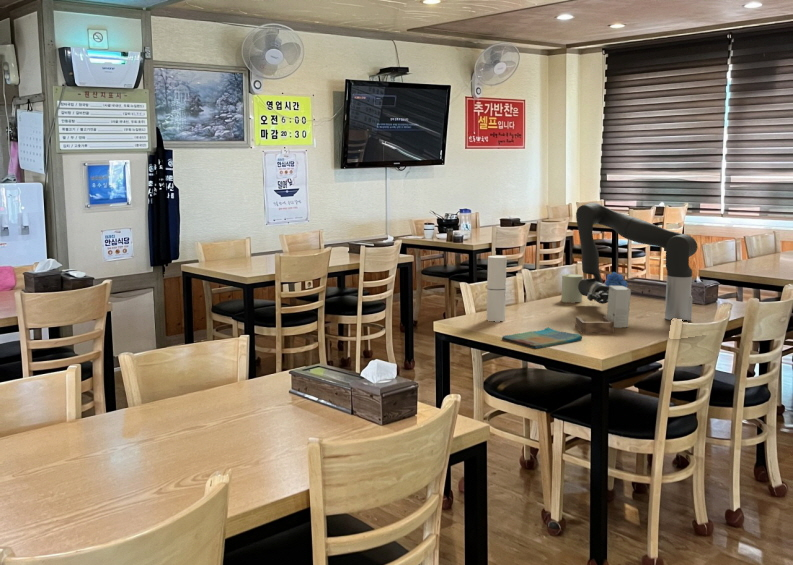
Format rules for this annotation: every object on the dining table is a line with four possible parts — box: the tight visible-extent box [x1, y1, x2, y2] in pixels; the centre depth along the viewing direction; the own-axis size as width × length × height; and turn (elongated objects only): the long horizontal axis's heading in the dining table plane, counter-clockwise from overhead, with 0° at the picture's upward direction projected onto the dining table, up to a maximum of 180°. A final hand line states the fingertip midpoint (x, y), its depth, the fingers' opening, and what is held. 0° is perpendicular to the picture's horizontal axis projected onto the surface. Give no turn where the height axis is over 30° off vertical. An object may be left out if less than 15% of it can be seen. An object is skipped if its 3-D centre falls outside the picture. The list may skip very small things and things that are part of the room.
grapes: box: [604, 271, 629, 288], centre depth 359 cm, size 12×7×12 cm, turn 43°
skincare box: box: [606, 286, 632, 329], centre depth 300 cm, size 8×6×15 cm
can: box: [560, 273, 584, 304], centre depth 352 cm, size 9×9×12 cm
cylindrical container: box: [486, 255, 508, 323], centre depth 308 cm, size 7×7×25 cm
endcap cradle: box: [574, 316, 615, 335], centre depth 292 cm, size 11×11×4 cm
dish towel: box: [501, 326, 583, 350], centre depth 276 cm, size 17×23×2 cm
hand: (610, 299), depth 310 cm, fingers open, 8 cm apart
